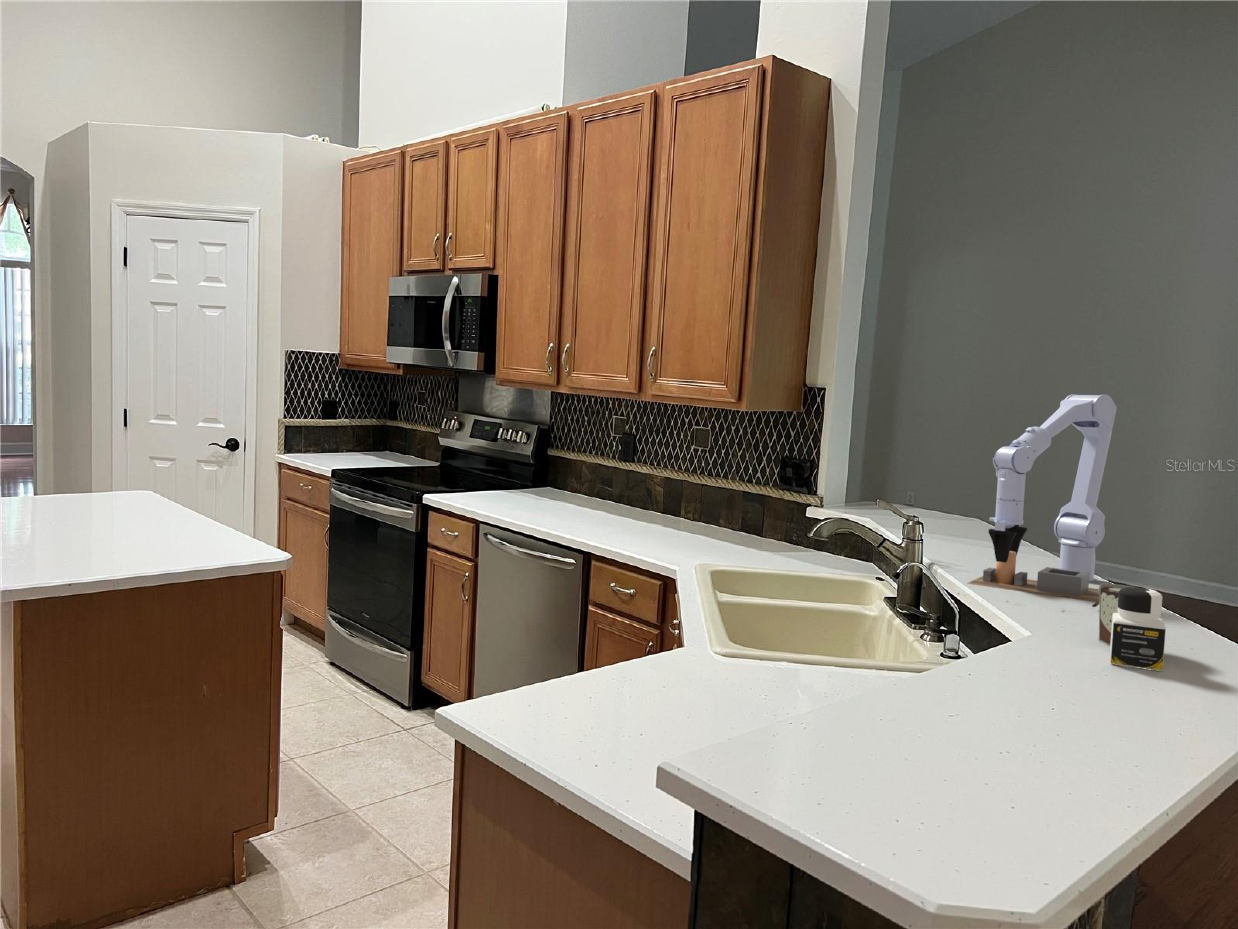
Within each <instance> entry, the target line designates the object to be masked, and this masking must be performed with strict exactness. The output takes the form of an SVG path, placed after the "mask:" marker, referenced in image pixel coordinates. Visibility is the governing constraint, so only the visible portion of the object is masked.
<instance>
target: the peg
mask: <svg viewBox="0 0 1238 929" xmlns="http://www.w3.org/2000/svg"><path fill="white" fill-rule="evenodd" d="M995 562H996V563H995V564H996V565H995V568H996V578H995V582H997V583H1002V584H1014V579H1015V574H1016V564H1017V556H1016V552H1014V551H1010V552H1009V556H1008V560H1007V562H998V561H995Z"/></svg>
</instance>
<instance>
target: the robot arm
mask: <svg viewBox="0 0 1238 929" xmlns="http://www.w3.org/2000/svg"><path fill="white" fill-rule="evenodd" d="M1117 409H1118V408H1117V406H1116V404H1115V402H1114V400H1113V399H1112V397H1111V396H1110V395H1108V394H1100V395H1098V394H1097V395H1096V394H1095V395H1094V394H1093V395H1092V394H1074V393H1073V394H1069V395H1067V396H1066V397H1065V399H1062V400H1061V401H1060V403H1059V408H1058V409H1056V411H1054V413H1053V414H1052V415H1050V416H1049V417H1048V418H1047V419H1046V420H1045V421H1044V422H1043V423H1042V424H1041V425H1040V426H1031V427H1030V426H1029V427H1027V428H1026V429H1025V432H1024V433H1023V434H1021V435H1020V436H1019V437H1017V439H1014V440H1013V441H1012V442H1011V443H1010V444H1009V446H1002V447H1000V448H999V449H998V450H996V452H995V454H994V456H993V458H992V464H993V467H994V469H995V476H996V478H997V486H996V500H995V503H996V504H995V514H994V516H995V517H989V521H990V522H994V523H995V524H994V528H988V535H989V536H990V539H991V541H992V546H993V550H994V556H995V562H997V561H998V562H1007V560H1008V556H1009V552H1010V551H1014V552H1016V557H1017V555H1018V552H1019V548H1020V546H1021V543H1022V539H1023V538H1024V536H1025V534H1026V533H1027V531H1028V528H1027V527H1025V526H1022V525H1024V522H1025V521H1024V508H1025V507H1024V506H1025V491H1026V476H1027V472H1030V471H1031V469H1032V468H1033V465H1034V461H1036V459H1037V457H1039V456H1040V455H1041V454H1042V453H1044V452H1045V451H1046V450H1047V449H1048V448H1049V447H1050V446H1051V444H1052V438H1054V437H1055V436H1057V435H1058V434H1060V432H1062V431H1063V430H1065V429H1066V428H1067V427H1069V426H1070V425H1072V426H1073V427H1074V428H1076V429H1077V430H1078V431H1080V432H1081V434H1082V435H1083V437H1084V439H1083V444H1082V448H1081V454H1080V458H1079V462H1078V466H1077V470H1076V471H1077V472H1076V477H1075V481H1074V485H1073V490H1072V495H1071V499H1070V501H1069V502H1068V503H1067V504H1065V505H1064V506H1061V508H1060V510H1059V515H1058V516H1057V518H1056V519H1055V522H1054V523H1053V524H1054V525H1053V532H1054V535H1055V537H1056V539H1058V543H1060V554H1059V567H1058V569H1066V570H1074V571H1081V572H1089V582H1092V581H1099V579H1098V578H1095V566H1096V547H1097V548H1098V547H1099V544H1101V542H1102V541H1103V540H1104V537H1105V535H1106V534H1105V533H1106V529H1105V520H1106V516H1105V514H1104V513H1103V512H1102V511H1101V510H1100V508H1098V506H1097V504H1098V500H1099V495H1100V490H1101V485H1102V481H1103V476H1104V471H1105V467H1106V462H1107V458H1108V452H1109V447H1110V444H1111V438H1112V435H1113V434H1112V432H1113V427H1114V423H1115V419H1116V414H1117Z"/></svg>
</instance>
